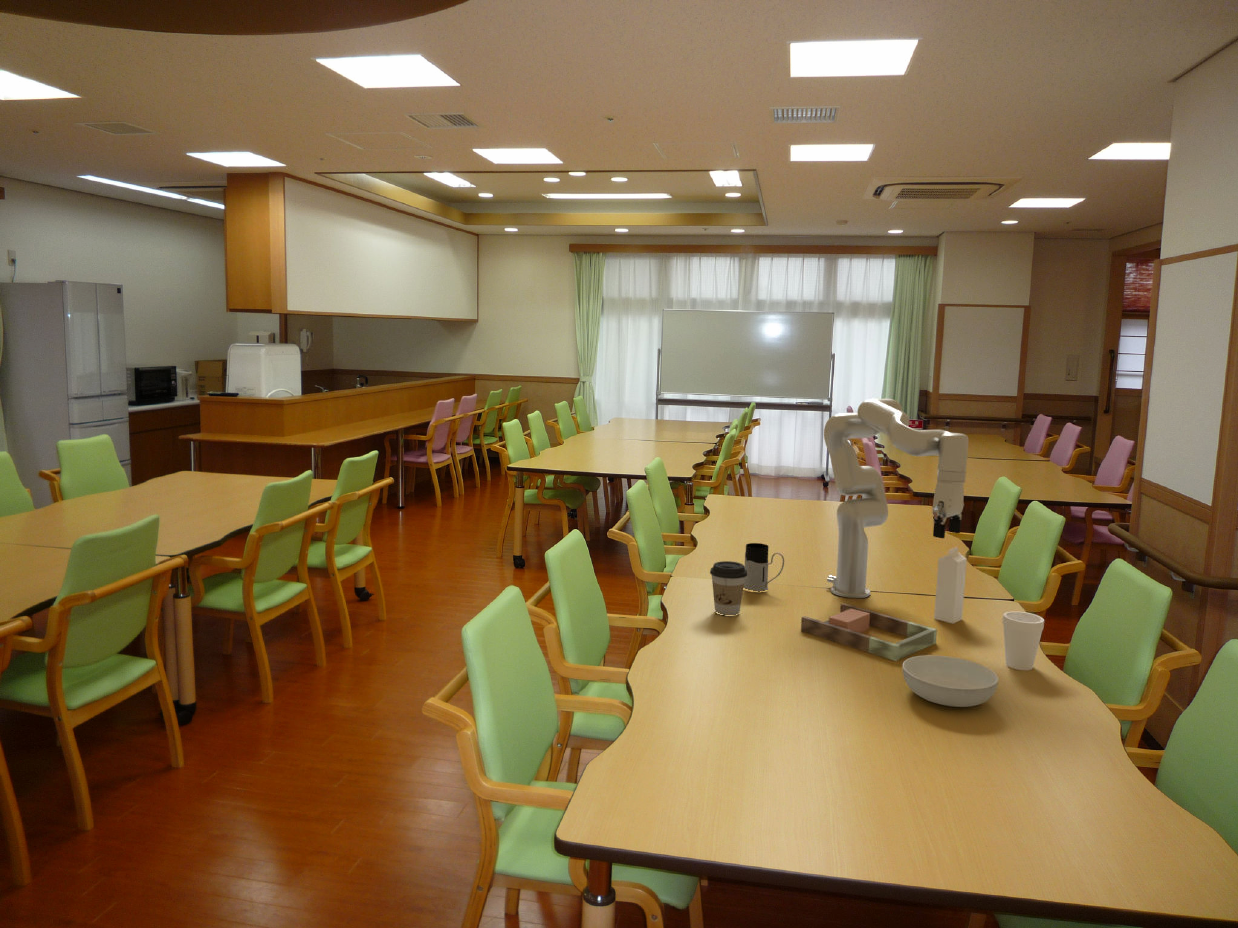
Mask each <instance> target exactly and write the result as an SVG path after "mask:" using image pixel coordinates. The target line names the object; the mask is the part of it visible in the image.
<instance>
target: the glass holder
mask: <svg viewBox="0 0 1238 928" xmlns="http://www.w3.org/2000/svg"><path fill="white" fill-rule="evenodd" d="M776 555H779V556H781V558H782V564H781V568H780V570H779V572H778V573H777V575H776V576H774V577H773V578H771V579H770V580H769V579H768V578H769V565H772V564H773V560H774V556H776ZM784 566H785V557H784V555H783V554H782V553H780V552H775V553H773V554H772V555H771V558H770V562H769V545H768V544H765V543H762V542H761V543H759V542H749V543H746V544H745V552H744V567H745V569H746V570H747V576H746V577H745V582H744V588H745V589H748V590H753V591H758V592H760V591H765V590H768V589H769V586H768V585H769V583H770V582H772V581H774V580H775V579H776V578H778V577H779V576H780V575H781V574H782V571H783V569H784Z"/></svg>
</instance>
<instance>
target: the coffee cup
mask: <svg viewBox="0 0 1238 928" xmlns="http://www.w3.org/2000/svg"><path fill="white" fill-rule="evenodd" d="M709 574H710V575H711V580H712V581H711V582H712V590H713V591H712V592H713V594H712V595H713V602H714V605H713V606H714V610H715V613H716V612H718V613H720V614H723V615H736V614H738V613H739V614H740V611H741V605H742V599H743V594H744V590H743V588H744V582H745V577H746V576H747V570H746V569H745V564H743V563H741V562H737V561H731V560H730V561H727V560H721V561H717V562H714V563H713V566H712V567H711V568H710V571H709ZM739 614H738V615H739Z"/></svg>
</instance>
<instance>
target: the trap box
mask: <svg viewBox="0 0 1238 928" xmlns="http://www.w3.org/2000/svg"><path fill="white" fill-rule="evenodd" d="M849 609H855V610H859V611H863V612H867V613H870V620H869V627H873V628H876V629H878V630H879V629H880V630H883V631H887V632H890V633H894V634H896V635H900V636H903V637H907V638H904V639H902V640H900V641H898V642H896V643H895V642H890V641H887V640H884V639H880V638H878V637H874V636H871V635H869V634H868V635H867V634H865V633H863V632H861V633H858V632H855V631H852V630H849V629H845V628H842V627H839V626H835V625H832V624H829V619H828V620H825V621H822V620H819V619H817V618H813V617H809V616H806V615H803V616H801V622H800V631H801V632H804V633H808V634H810V635H814V636H815V637H819V638H822V639H825V640H829V641H832V642H836V643H838V644H841V645H844V646H847V647H851V648H853V649H857V650H859V651H864V652H866V653H869V654H873V655H875V656H878V657H881V658H884V659H888V660H891V661H894V662H897V661H899V660H901V659H902V660H903V659H904V658H906V657H908V656H911V655H913V654H916V653H917V652H919V651H921V650H924V649H926V648H928V647H931V646H933V645H935V644H937V635H938V629H937V628H934V627H929V626H927V625H923V624H919V623H915V622H912V621H909V620H906V619H902V618H898V617H894V616H891V615H887V614H883V613H882V612H881V613H880V612H876V611H873V610H869V609H867V608H866V609H865V608H862V607H859V606H855V605H852V604H847V603H845V602H843V603H840V609H839V613H841V612H844V611H846V610H849Z"/></svg>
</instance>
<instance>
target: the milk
mask: <svg viewBox="0 0 1238 928" xmlns="http://www.w3.org/2000/svg"><path fill="white" fill-rule="evenodd" d="M967 560H968V559H967V558H966V557H965V556H964V555H962V553H960V552H959V547H958V546H956V547H952V548H951V549H948V554H947V555H944V556H942V557H938V562H937V575H936V590H935V601H934V614H933V615H934V617H933V619H934V620H937V621H940V622H945V623H949V624H956V623H957V622H960V621H962V620H963V610H964V598H965V586H966V574H967V573H966V572H967Z"/></svg>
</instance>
